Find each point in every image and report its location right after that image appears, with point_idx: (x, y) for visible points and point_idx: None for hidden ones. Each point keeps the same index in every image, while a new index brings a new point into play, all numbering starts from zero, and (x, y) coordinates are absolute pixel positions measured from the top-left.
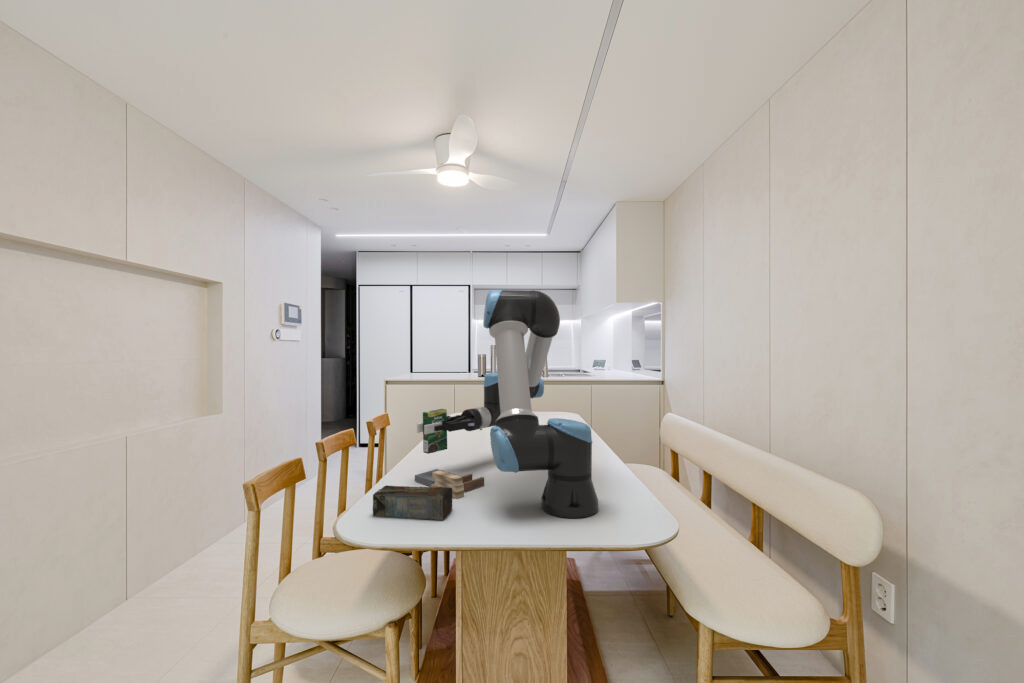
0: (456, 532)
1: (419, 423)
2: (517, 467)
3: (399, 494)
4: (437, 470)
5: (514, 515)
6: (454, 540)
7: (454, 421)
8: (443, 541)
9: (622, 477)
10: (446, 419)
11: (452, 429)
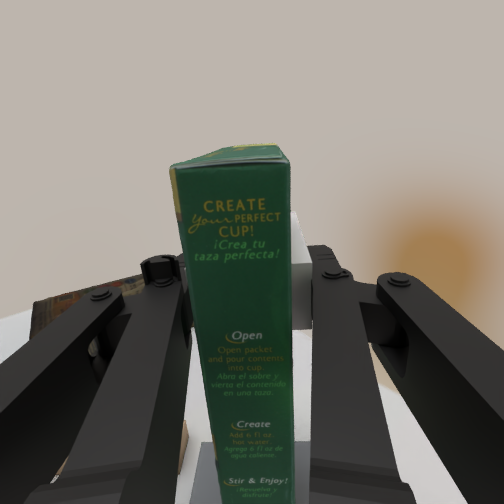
0: (7, 332)
1: (293, 216)
2: None
3: (137, 275)
4: None
5: None
6: (5, 319)
7: (103, 378)
8: (25, 311)
9: None
10: (190, 291)
11: (92, 356)
